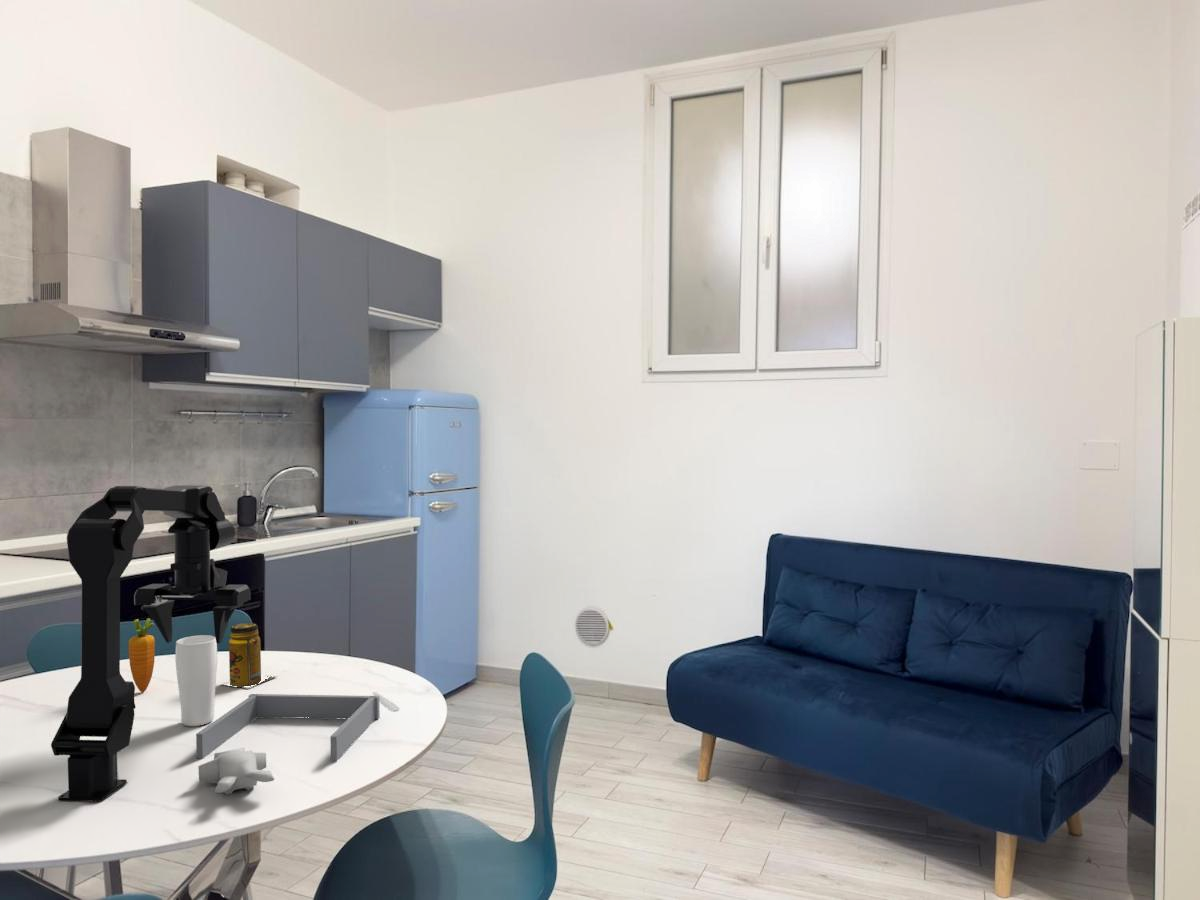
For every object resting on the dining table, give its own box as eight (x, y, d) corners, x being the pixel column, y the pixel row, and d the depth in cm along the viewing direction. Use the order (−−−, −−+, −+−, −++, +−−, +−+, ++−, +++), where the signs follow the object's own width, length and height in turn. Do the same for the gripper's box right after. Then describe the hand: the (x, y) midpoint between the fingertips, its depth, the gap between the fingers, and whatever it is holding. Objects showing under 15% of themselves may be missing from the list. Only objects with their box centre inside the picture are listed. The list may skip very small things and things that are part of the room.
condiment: (220, 686, 176) (218, 627, 175) (250, 674, 184) (248, 618, 183) (248, 689, 173) (247, 630, 173) (277, 677, 181) (276, 621, 181)
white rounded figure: (258, 738, 136) (280, 758, 124) (260, 771, 136) (281, 794, 123) (193, 750, 131) (208, 772, 119) (194, 785, 131) (210, 810, 118)
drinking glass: (202, 730, 150) (200, 645, 150) (168, 727, 152) (166, 643, 151) (226, 717, 157) (224, 635, 157) (193, 714, 158) (192, 634, 158)
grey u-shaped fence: (340, 761, 137) (339, 736, 136) (193, 758, 138) (193, 733, 138) (379, 717, 157) (379, 696, 156) (251, 715, 158) (251, 693, 158)
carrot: (150, 686, 175) (148, 613, 175) (161, 691, 172) (159, 617, 171) (124, 692, 171) (122, 618, 171) (135, 698, 168) (133, 622, 168)
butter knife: (386, 712, 159) (401, 707, 161) (345, 677, 182) (359, 673, 184) (386, 715, 159) (401, 711, 161) (345, 679, 182) (359, 676, 184)
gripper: (263, 549, 160) (265, 632, 161) (167, 548, 161) (168, 630, 162) (235, 558, 149) (236, 648, 150) (131, 558, 150) (133, 646, 151)
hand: (194, 642), depth 153 cm, fingers open, 9 cm apart
